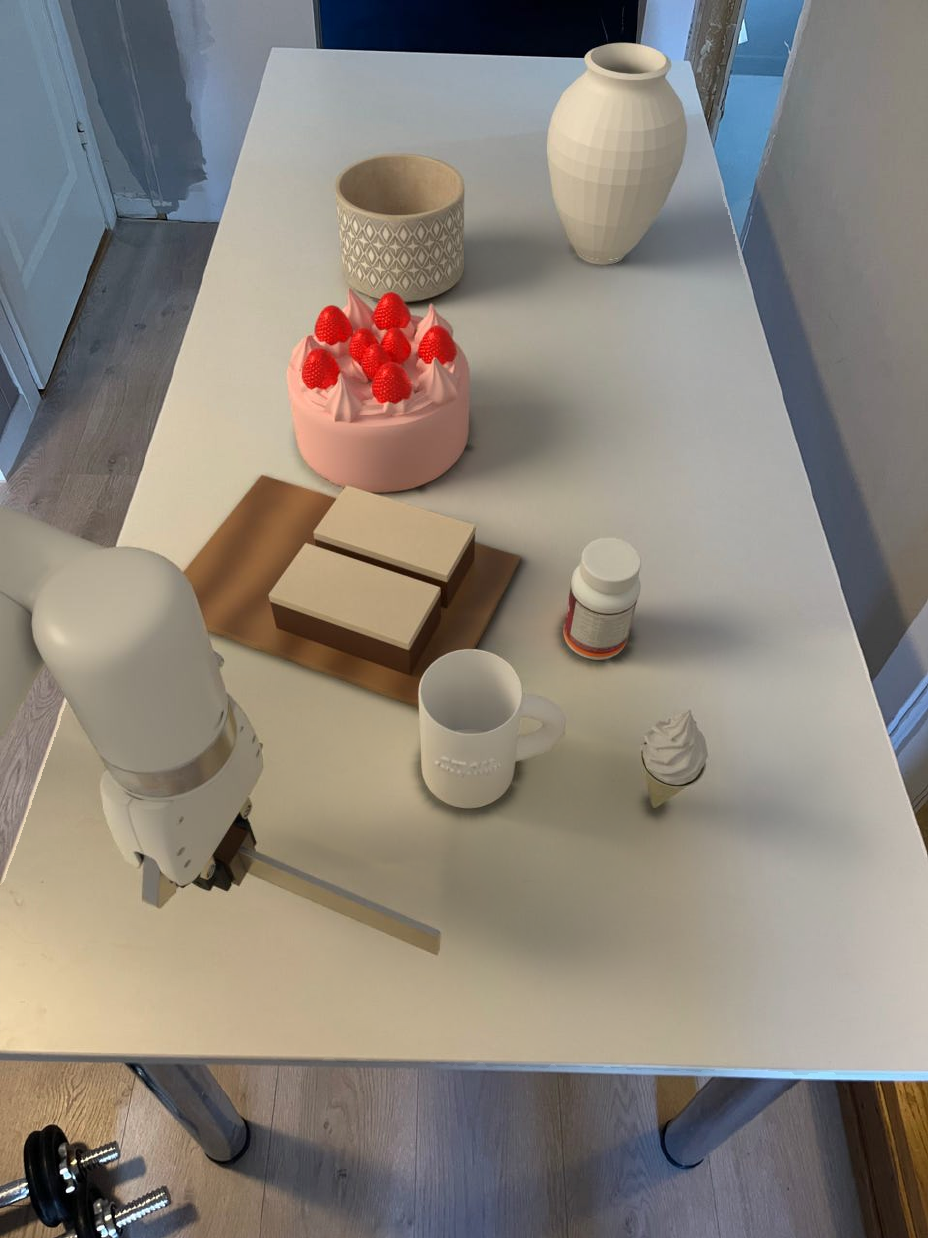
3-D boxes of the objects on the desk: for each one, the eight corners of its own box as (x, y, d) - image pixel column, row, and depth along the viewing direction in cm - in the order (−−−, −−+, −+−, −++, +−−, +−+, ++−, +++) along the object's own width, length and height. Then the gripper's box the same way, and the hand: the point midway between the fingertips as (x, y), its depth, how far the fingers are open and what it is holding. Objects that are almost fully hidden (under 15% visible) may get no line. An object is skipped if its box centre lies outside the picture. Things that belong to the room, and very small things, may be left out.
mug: (566, 805, 76) (583, 732, 67) (424, 815, 75) (421, 742, 66) (552, 721, 81) (566, 642, 72) (419, 730, 80) (415, 651, 71)
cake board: (158, 612, 88) (155, 606, 87) (263, 481, 100) (261, 474, 99) (441, 716, 81) (440, 710, 81) (519, 562, 93) (519, 555, 92)
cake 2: (318, 566, 91) (313, 531, 87) (350, 519, 95) (346, 484, 91) (447, 609, 88) (447, 575, 84) (474, 559, 92) (475, 525, 88)
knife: (132, 839, 67) (117, 815, 64) (153, 810, 68) (139, 785, 65) (431, 971, 62) (431, 952, 58) (446, 936, 63) (447, 916, 60)
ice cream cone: (621, 777, 78) (652, 679, 66) (681, 779, 78) (722, 681, 66) (626, 832, 75) (659, 739, 63) (688, 834, 75) (732, 742, 63)
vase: (682, 277, 125) (726, 81, 106) (560, 293, 123) (582, 95, 103) (636, 212, 136) (668, 23, 116) (523, 226, 133) (536, 35, 113)
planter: (439, 320, 118) (438, 227, 108) (324, 295, 122) (313, 203, 112) (478, 255, 128) (481, 165, 118) (371, 234, 131) (364, 144, 121)
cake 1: (370, 361, 113) (361, 255, 102) (504, 424, 106) (510, 317, 95) (261, 447, 103) (238, 340, 92) (401, 523, 96) (394, 417, 85)
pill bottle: (577, 602, 90) (591, 523, 81) (635, 625, 88) (657, 546, 79) (552, 647, 86) (564, 569, 77) (613, 672, 85) (632, 595, 76)
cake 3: (276, 628, 86) (267, 594, 82) (311, 576, 90) (305, 542, 86) (410, 676, 83) (408, 643, 79) (441, 620, 87) (440, 587, 83)
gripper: (189, 606, 57) (238, 751, 71) (17, 827, 48) (113, 943, 62) (295, 645, 55) (323, 786, 70) (138, 882, 46) (208, 987, 61)
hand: (224, 859), depth 66 cm, fingers closed on knife, 2 cm apart
